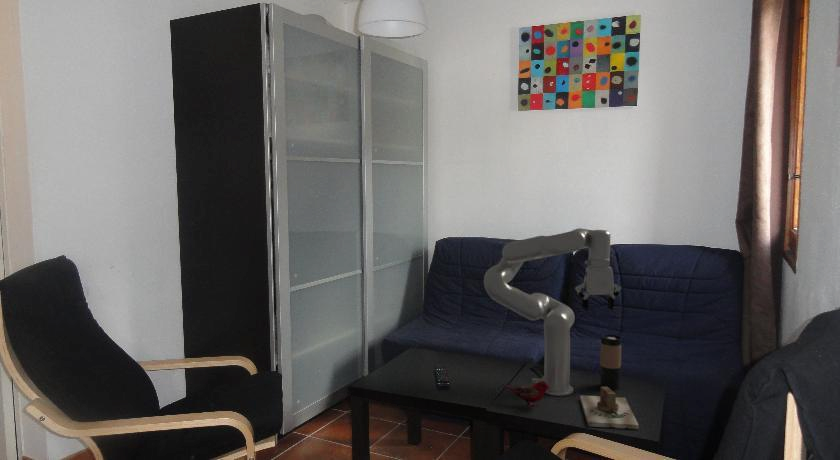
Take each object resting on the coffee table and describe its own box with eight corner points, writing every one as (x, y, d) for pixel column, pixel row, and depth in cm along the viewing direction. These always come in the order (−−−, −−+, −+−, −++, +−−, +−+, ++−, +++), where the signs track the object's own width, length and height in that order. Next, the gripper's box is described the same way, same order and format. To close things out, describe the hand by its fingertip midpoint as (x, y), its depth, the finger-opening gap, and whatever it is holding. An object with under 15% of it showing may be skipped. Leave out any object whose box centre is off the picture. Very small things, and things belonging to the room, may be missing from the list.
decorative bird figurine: (548, 411, 209) (548, 383, 208) (500, 402, 217) (501, 375, 216) (550, 408, 212) (551, 381, 211) (503, 399, 220) (504, 373, 219)
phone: (547, 365, 257) (562, 376, 243) (547, 367, 258) (562, 379, 243) (530, 366, 256) (544, 377, 241) (530, 368, 256) (544, 380, 241)
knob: (593, 404, 210) (594, 387, 209) (612, 404, 211) (613, 386, 210) (606, 416, 200) (607, 398, 199) (626, 415, 200) (627, 397, 200)
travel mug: (620, 391, 228) (621, 340, 226) (599, 389, 231) (600, 338, 229) (620, 384, 235) (621, 335, 233) (600, 382, 238) (601, 333, 236)
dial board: (588, 426, 197) (588, 421, 196) (580, 399, 220) (580, 394, 220) (638, 429, 194) (638, 424, 194) (624, 401, 218) (625, 397, 218)
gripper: (580, 265, 214) (578, 312, 215) (626, 264, 216) (624, 310, 217) (572, 262, 221) (571, 307, 223) (617, 261, 223) (615, 306, 225)
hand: (597, 309), depth 220 cm, fingers open, 9 cm apart
